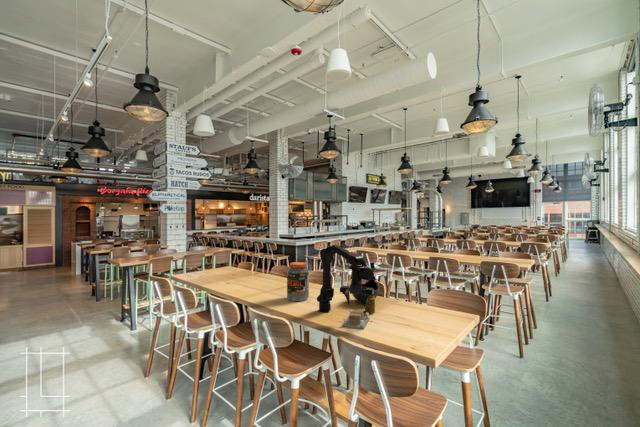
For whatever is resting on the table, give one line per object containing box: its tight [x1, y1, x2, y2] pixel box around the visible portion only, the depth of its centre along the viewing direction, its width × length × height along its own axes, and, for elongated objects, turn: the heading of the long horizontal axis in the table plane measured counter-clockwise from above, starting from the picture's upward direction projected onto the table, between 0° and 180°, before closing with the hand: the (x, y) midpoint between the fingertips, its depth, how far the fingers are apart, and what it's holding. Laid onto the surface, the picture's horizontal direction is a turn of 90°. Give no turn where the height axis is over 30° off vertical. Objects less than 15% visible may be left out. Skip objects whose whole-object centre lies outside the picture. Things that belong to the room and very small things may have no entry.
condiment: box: [362, 294, 378, 316], centre depth 185 cm, size 7×8×12 cm
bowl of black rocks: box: [351, 279, 380, 303], centre depth 208 cm, size 20×20×19 cm
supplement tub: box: [286, 261, 310, 302], centre depth 215 cm, size 16×16×26 cm
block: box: [348, 309, 364, 325], centre depth 168 cm, size 10×6×4 cm, turn 160°
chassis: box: [342, 310, 371, 330], centre depth 168 cm, size 16×12×4 cm
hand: (356, 305), depth 168 cm, fingers open, 9 cm apart
